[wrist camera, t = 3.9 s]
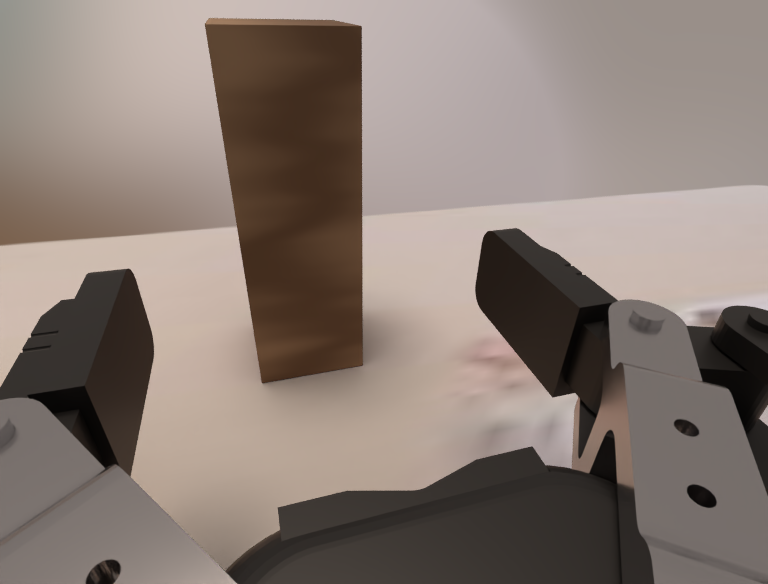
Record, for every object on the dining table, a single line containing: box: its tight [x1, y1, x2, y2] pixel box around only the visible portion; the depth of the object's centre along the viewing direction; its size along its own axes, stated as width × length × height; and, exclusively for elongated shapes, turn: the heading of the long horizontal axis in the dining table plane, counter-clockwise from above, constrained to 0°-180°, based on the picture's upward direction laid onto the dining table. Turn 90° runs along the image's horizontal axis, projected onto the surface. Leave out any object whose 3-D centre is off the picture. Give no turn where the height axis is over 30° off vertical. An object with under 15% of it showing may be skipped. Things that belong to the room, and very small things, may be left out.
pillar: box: [205, 18, 363, 383], centre depth 17 cm, size 4×4×12 cm
